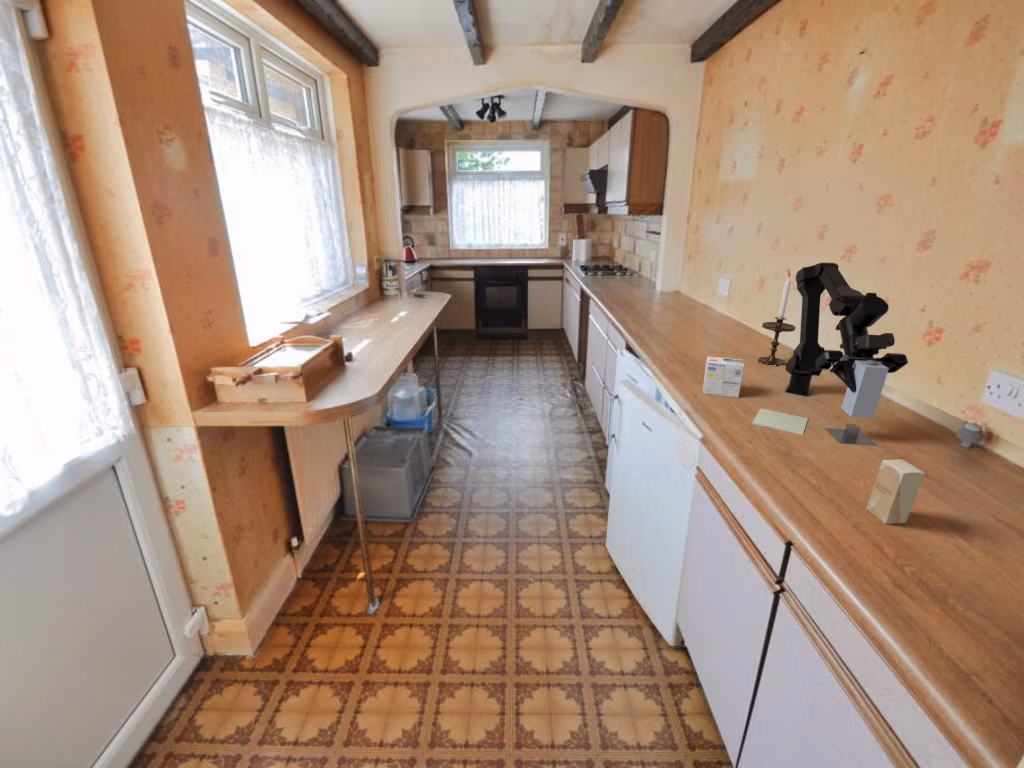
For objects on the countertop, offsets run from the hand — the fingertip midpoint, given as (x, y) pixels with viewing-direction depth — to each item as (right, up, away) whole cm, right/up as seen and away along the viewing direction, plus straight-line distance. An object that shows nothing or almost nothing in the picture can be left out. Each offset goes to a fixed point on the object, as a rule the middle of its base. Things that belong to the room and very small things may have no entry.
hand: (866, 392), depth 118 cm
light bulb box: (-20, -1, +36) cm, 41 cm away
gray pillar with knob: (0, -5, +3) cm, 6 cm away
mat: (-13, -8, +14) cm, 21 cm away
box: (-15, -23, -25) cm, 38 cm away
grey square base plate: (0, -12, +6) cm, 13 cm away
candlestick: (+12, +10, +66) cm, 68 cm away
